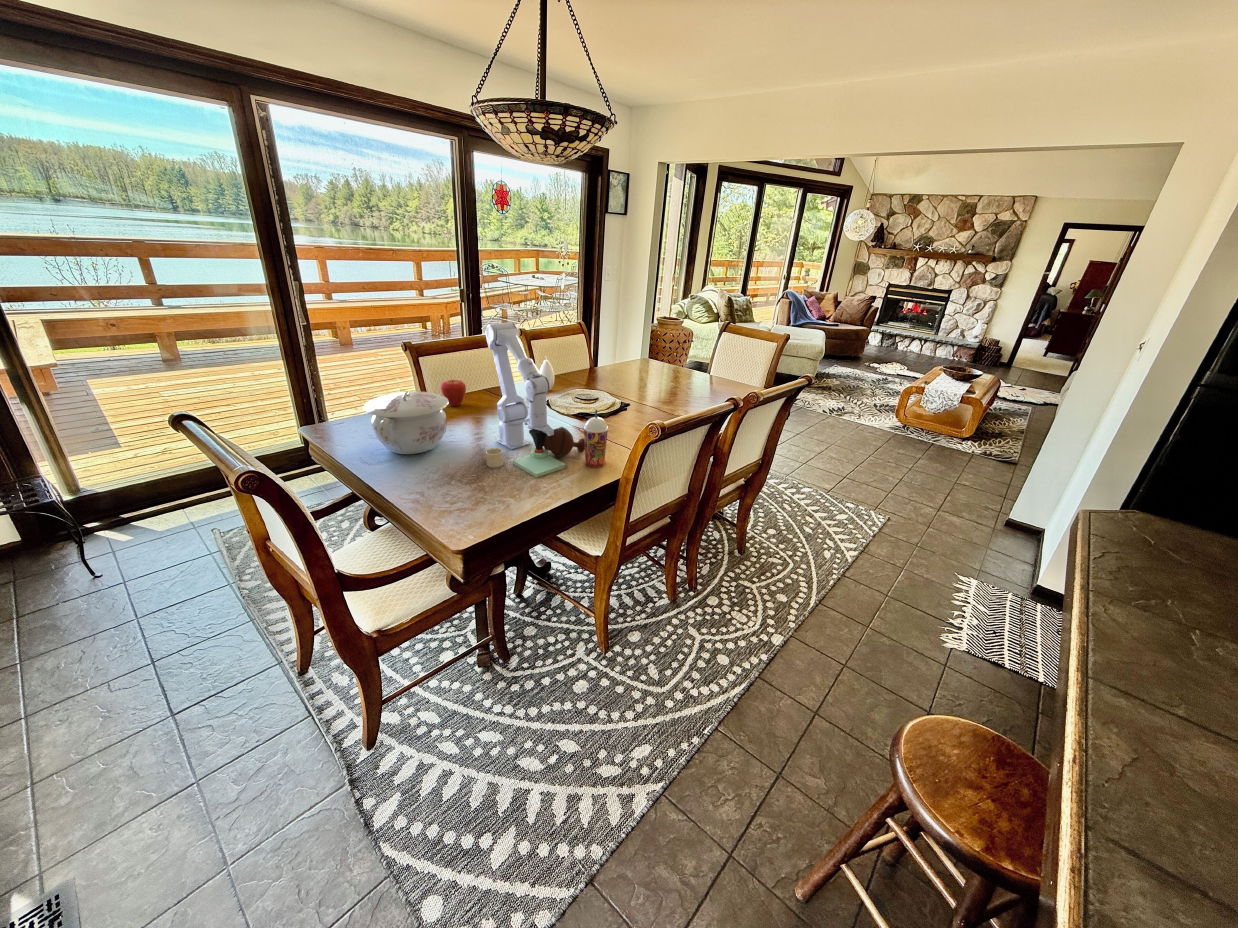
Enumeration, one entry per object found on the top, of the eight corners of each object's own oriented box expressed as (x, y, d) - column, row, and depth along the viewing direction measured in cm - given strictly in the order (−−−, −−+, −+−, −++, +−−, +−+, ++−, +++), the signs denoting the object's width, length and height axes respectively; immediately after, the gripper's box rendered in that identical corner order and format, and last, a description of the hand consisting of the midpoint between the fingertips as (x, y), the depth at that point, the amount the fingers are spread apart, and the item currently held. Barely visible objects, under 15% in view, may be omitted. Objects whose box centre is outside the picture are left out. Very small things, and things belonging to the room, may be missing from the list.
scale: (511, 463, 166) (511, 455, 165) (541, 453, 174) (541, 446, 173) (536, 477, 157) (536, 469, 156) (566, 467, 165) (566, 459, 164)
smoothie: (597, 471, 163) (599, 415, 155) (578, 464, 167) (578, 410, 159) (611, 462, 170) (613, 409, 161) (591, 456, 174) (593, 404, 165)
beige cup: (483, 464, 164) (482, 450, 162) (497, 459, 168) (497, 446, 166) (492, 469, 161) (491, 456, 159) (506, 465, 164) (505, 451, 162)
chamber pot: (431, 427, 192) (425, 377, 183) (467, 448, 175) (462, 394, 166) (358, 445, 173) (346, 389, 164) (390, 471, 157) (379, 410, 148)
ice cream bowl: (583, 465, 173) (545, 460, 165) (571, 451, 182) (535, 446, 174) (592, 439, 170) (554, 433, 162) (580, 426, 178) (543, 419, 170)
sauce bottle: (537, 391, 241) (536, 356, 234) (541, 387, 248) (541, 352, 241) (552, 393, 240) (551, 357, 233) (556, 389, 247) (556, 354, 239)
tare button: (533, 452, 169) (533, 448, 169) (540, 450, 171) (540, 446, 171) (538, 455, 167) (538, 450, 167) (545, 453, 169) (545, 448, 169)
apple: (463, 409, 213) (460, 383, 207) (439, 408, 213) (435, 381, 207) (470, 401, 223) (468, 376, 217) (447, 400, 223) (444, 375, 217)
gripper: (516, 409, 165) (518, 445, 170) (541, 420, 155) (542, 458, 161) (533, 405, 169) (534, 440, 175) (558, 415, 160) (559, 453, 166)
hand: (539, 449), depth 168 cm, fingers closed, pressing on ice cream bowl, tare button
